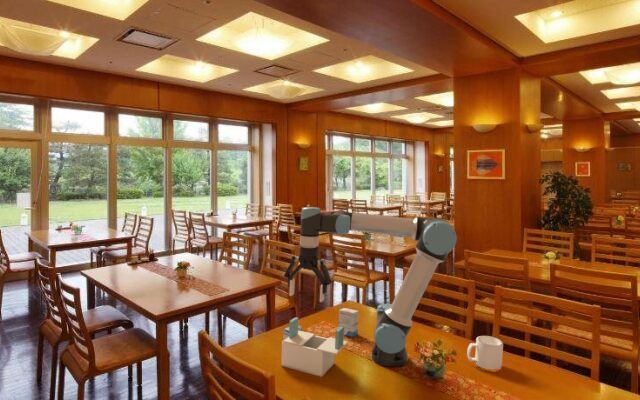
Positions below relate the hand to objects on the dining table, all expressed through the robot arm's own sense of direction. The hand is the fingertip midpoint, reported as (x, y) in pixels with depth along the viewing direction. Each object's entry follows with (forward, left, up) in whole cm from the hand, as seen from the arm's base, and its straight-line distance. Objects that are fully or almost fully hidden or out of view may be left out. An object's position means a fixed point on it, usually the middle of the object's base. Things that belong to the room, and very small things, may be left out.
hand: (306, 298), depth 159 cm
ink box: (-4, -37, -28) cm, 47 cm away
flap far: (+3, 0, -18) cm, 18 cm away
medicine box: (+13, -12, -28) cm, 33 cm away
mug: (-66, -34, -28) cm, 80 cm away
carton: (-1, 0, -28) cm, 28 cm away
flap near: (-12, 0, -18) cm, 21 cm away
